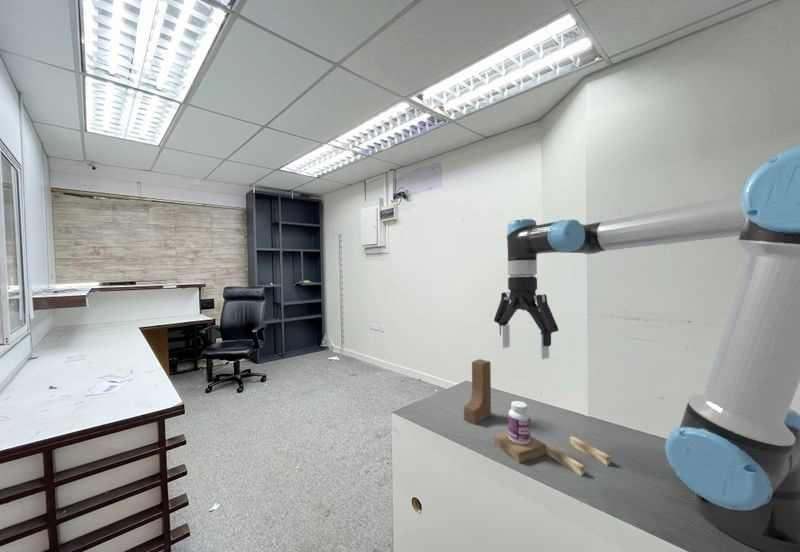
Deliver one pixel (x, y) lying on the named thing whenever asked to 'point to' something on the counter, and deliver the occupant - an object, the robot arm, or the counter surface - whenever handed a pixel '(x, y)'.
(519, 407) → the pill bottle
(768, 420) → the robot arm
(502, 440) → the pedestal
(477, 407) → the wooden block
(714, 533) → the counter surface
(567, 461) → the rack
